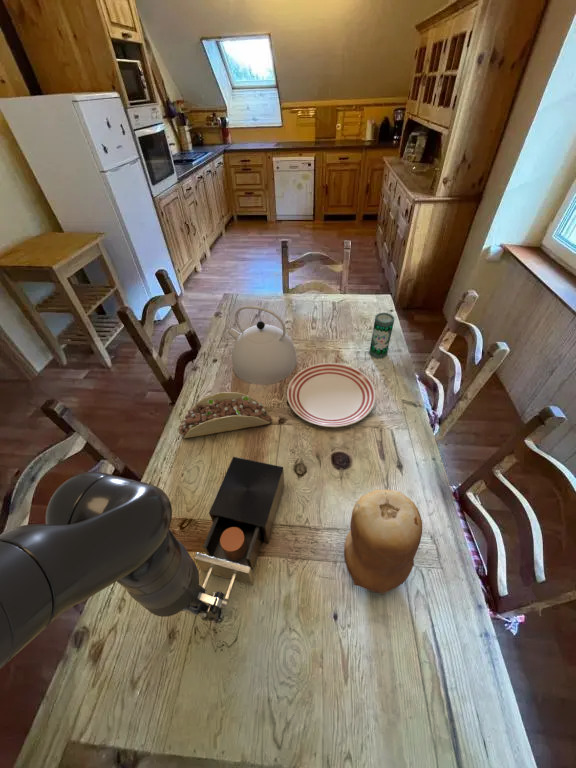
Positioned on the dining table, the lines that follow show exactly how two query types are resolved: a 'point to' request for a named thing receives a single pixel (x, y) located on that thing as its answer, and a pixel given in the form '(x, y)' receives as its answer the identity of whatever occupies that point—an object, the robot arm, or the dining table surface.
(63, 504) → the robot arm
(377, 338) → the can
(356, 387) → the dinner plate
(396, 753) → the dining table surface
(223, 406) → the taco
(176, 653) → the dining table surface
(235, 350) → the kettle
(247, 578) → the wooden drawer
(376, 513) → the butternut squash
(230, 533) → the copper tin
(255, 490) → the black rectangular box
